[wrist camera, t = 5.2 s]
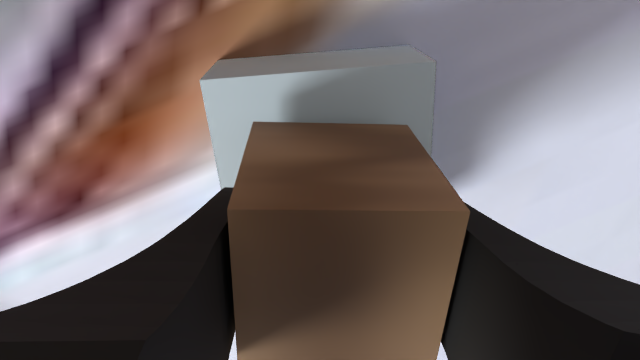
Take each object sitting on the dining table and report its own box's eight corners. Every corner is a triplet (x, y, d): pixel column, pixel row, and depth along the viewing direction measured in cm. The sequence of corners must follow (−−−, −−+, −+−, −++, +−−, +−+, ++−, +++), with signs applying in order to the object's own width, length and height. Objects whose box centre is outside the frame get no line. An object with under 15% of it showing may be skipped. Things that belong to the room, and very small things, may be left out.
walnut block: (407, 124, 12) (470, 210, 8) (390, 250, 14) (432, 376, 10) (253, 121, 12) (226, 209, 8) (257, 250, 14) (238, 380, 10)
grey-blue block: (408, 43, 15) (435, 61, 12) (404, 206, 19) (425, 253, 15) (219, 58, 15) (199, 80, 12) (247, 219, 18) (237, 270, 15)
